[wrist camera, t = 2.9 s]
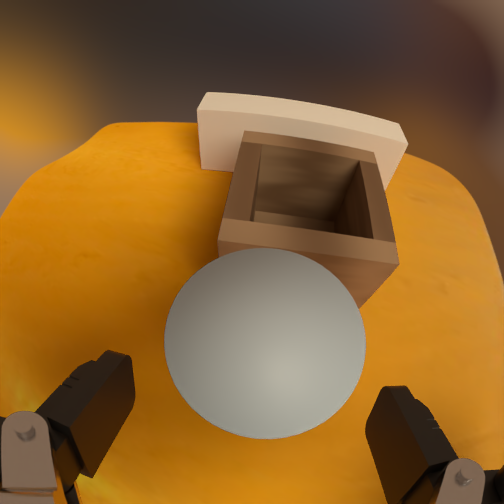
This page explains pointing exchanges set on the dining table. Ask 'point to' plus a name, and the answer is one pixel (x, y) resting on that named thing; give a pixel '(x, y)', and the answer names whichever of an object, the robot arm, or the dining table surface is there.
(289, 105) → the rail
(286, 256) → the gray cylinder
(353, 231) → the open wooden box
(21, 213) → the dining table surface
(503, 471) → the robot arm
